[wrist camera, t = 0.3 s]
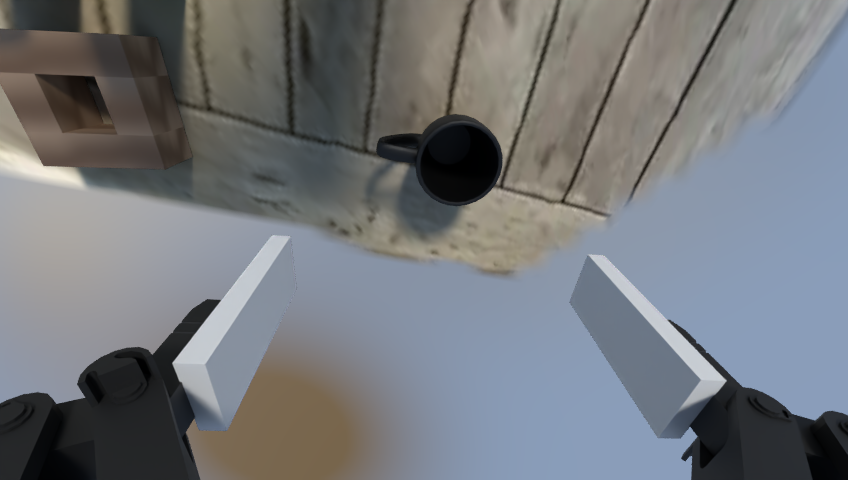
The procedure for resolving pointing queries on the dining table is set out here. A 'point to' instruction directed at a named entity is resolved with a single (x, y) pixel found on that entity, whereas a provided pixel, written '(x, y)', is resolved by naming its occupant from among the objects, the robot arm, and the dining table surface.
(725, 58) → the dining table surface
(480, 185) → the mug
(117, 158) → the socket block
